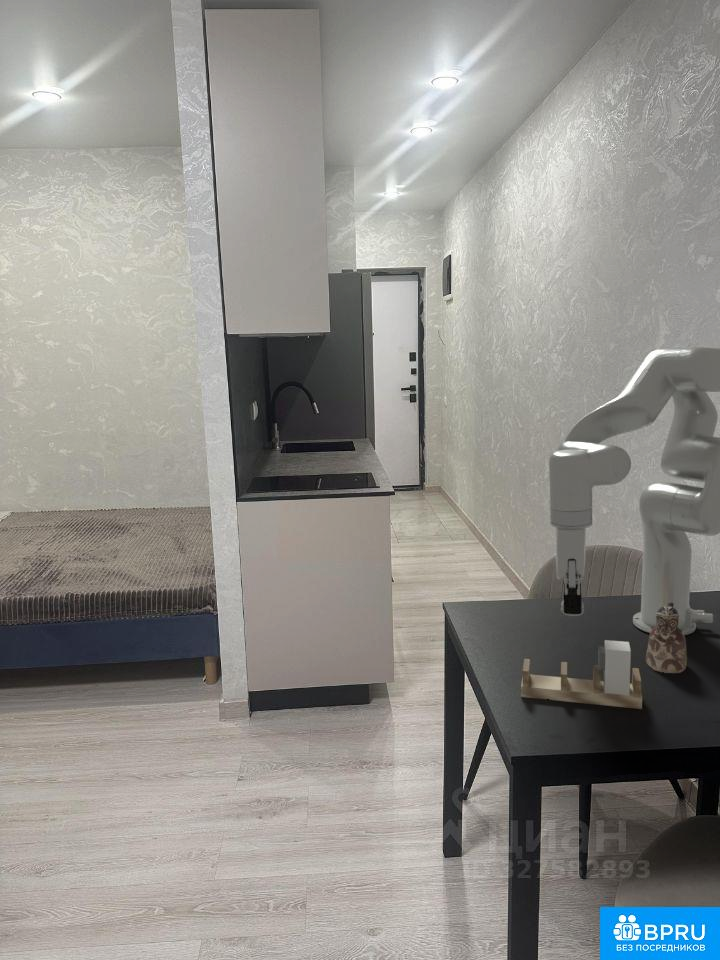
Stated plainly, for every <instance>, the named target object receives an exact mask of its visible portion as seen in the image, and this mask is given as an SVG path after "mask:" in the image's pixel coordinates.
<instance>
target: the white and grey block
mask: <svg viewBox="0 0 720 960" xmlns="http://www.w3.org/2000/svg"><path fill="white" fill-rule="evenodd" d="M603 643H604V646H600V645H598V650H597V651H598V654H597V656H598V657H597V659H598V661H597V662H598V664H597V665H598V666H599V670H600V671H603V681H604V682H603V683H604V692H605V693H608V694H619V695H629V692H630V684H631V683H630V682H631V660H632V659H631V658H632V657H631V656H632V655H631V654H632V653H631V646H630V642H629V641H622V640H620V641H619V640H607V639H605V640H604V642H603Z"/></svg>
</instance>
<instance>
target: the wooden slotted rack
mask: <svg viewBox="0 0 720 960" xmlns="http://www.w3.org/2000/svg"><path fill="white" fill-rule="evenodd" d="M592 667H593V668H592V669H593V670H592V672H593V673H592V679H583V678H573V677H572V678H571V677H568V662H567V661H561V662H560V676H553V675H552V676H551V675H540V674H539V675H538V674H531V659H530V658H524V659H523V666H522V678H521V685H520V697H521V698H527V699H538V700H547V699H549V700H550V701H559V702H566V703H567V702H568V703H579V704H588V705H599V706H608V707H617V708H626V709H627V708H628V709H637V710H643V696H642V678H641V674H640V668H637V667H632V670H631V674H632V675H631V683H630V692H629V695H619V694H608V693H605V692H604V683H603V682H604V680H601V670H599V666H598V664H593V666H592Z"/></svg>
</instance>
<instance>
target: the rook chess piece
mask: <svg viewBox="0 0 720 960" xmlns="http://www.w3.org/2000/svg"><path fill="white" fill-rule="evenodd" d="M567 577H569V575H567ZM564 578H565V576H564ZM564 578H563V579H564ZM576 578H578V572H577V575H576ZM567 582H568V584H569V581H567ZM576 584H577V582H576ZM581 603H582V613H581V614H565V613H564V598H563V599H562V601H561V603H560V606H561V607H560V611H561V612H562V614H563V615H565V616H569V617H579V616H581V615H583V614H584V612H585V603H584V602H583V600H582V599H581Z"/></svg>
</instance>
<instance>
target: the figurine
mask: <svg viewBox="0 0 720 960" xmlns="http://www.w3.org/2000/svg"><path fill="white" fill-rule="evenodd" d="M678 619H679V614H678V612H677V610H676V609H675V608H673V603H672V602H668V604H667V606H662V607H661V608H660V609H659V610H658V611H657V613H656V626H655V627H654V628H653V629H652V630H651V632H650V633H649V635H648V643H647V650H646V654H645V662H646V664H647V666H649V667H650V668H651V669H652V670H653V671H656V672H660V673H663V672H664V674H680V673H683V672H684V671H685V670H686V668H687V665H688V664H687V662H688V661H687V660H688V656H687V655H688V654H687V641H686V637H685V635H684V634H683V632H682V631H681V630H680V629H679V628H678Z"/></svg>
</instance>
